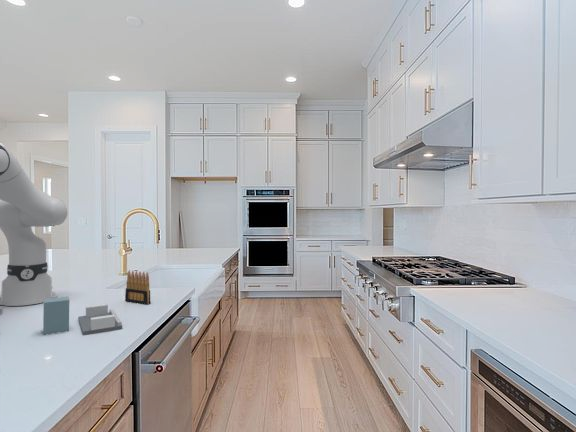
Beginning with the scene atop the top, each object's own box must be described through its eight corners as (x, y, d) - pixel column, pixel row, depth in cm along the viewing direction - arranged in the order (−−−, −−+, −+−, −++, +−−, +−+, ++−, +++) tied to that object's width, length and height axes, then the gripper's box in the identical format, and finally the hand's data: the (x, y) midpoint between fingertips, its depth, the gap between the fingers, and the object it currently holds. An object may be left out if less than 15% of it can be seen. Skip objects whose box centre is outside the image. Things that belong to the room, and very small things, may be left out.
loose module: (43, 330, 98) (43, 299, 98) (68, 326, 102) (68, 296, 102) (43, 335, 95) (43, 302, 95) (68, 331, 98) (69, 300, 98)
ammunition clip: (150, 303, 129) (151, 271, 129) (146, 305, 127) (147, 272, 127) (128, 300, 132) (129, 269, 132) (124, 301, 131) (125, 270, 131)
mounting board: (78, 319, 108) (78, 307, 108) (113, 314, 114) (113, 302, 114) (82, 335, 95) (83, 320, 95) (122, 328, 101) (122, 315, 101)
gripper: (-87, 322, 75) (-4, 313, 83) (-63, 302, 91) (4, 296, 99) (-88, 351, 74) (-5, 339, 83) (-64, 325, 91) (4, 317, 99)
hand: (0, 315), depth 91 cm, fingers open, 8 cm apart
